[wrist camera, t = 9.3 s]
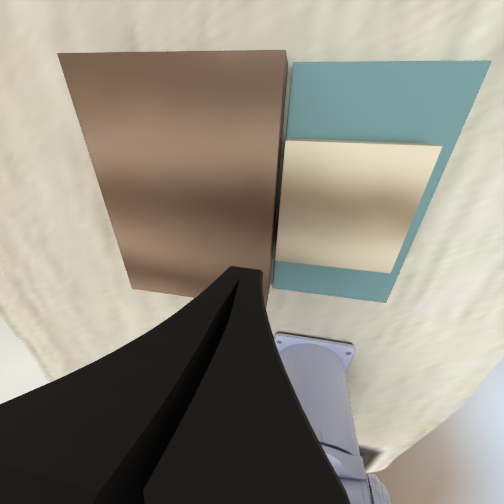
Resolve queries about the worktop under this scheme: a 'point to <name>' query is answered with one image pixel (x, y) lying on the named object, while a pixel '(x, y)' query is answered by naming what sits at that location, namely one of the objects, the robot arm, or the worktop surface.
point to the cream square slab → (350, 200)
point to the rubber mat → (377, 139)
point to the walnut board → (184, 158)
